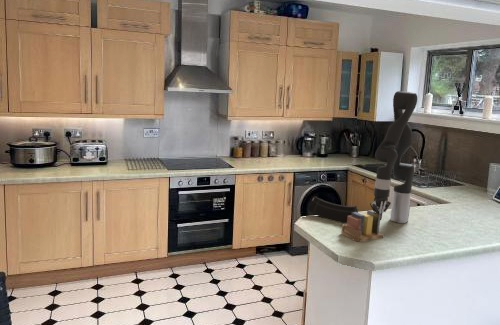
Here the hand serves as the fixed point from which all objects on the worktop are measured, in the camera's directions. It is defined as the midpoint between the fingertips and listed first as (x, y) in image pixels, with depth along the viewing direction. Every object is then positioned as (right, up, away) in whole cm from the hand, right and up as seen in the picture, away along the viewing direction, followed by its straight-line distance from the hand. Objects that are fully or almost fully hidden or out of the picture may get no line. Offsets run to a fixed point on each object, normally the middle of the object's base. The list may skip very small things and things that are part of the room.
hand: (378, 220), depth 213 cm
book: (-8, -6, -3) cm, 10 cm away
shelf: (-9, -7, -4) cm, 12 cm away
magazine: (-20, -3, +21) cm, 29 cm away
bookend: (-4, -6, -1) cm, 7 cm away
